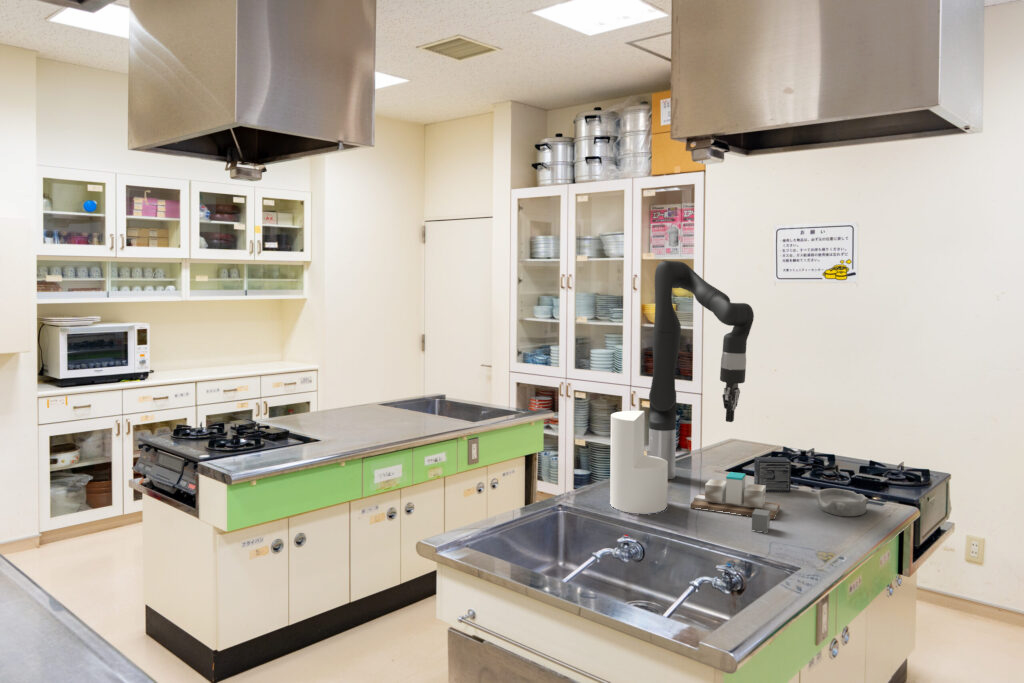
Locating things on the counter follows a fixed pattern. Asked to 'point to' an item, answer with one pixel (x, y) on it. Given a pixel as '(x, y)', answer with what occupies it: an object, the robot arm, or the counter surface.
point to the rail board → (717, 502)
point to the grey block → (760, 520)
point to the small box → (773, 473)
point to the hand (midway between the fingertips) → (729, 421)
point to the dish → (842, 502)
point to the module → (735, 488)
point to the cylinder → (635, 467)
